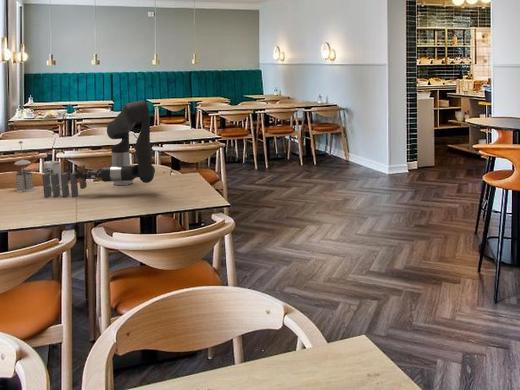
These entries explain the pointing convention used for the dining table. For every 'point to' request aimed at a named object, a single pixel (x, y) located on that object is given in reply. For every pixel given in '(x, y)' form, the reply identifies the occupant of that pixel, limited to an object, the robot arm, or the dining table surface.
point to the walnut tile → (82, 180)
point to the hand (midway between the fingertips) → (76, 174)
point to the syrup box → (52, 170)
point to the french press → (24, 176)
